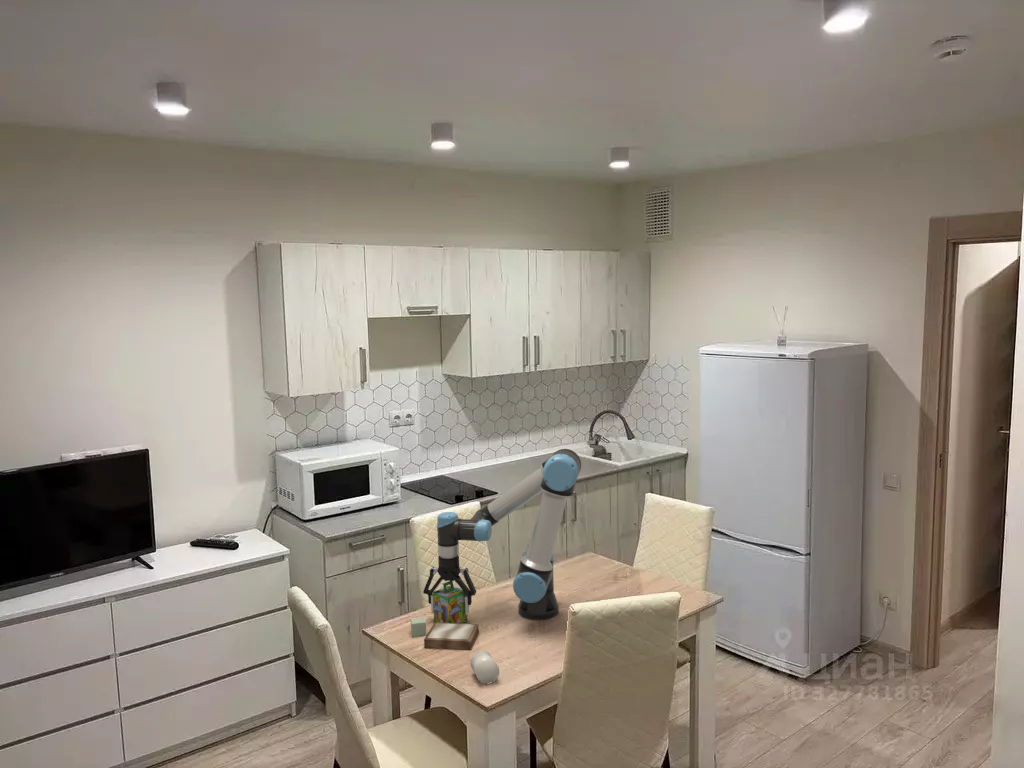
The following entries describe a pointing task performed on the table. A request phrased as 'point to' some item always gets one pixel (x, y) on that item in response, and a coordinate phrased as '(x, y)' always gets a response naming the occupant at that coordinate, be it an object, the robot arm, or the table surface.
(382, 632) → the table surface
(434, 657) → the table surface
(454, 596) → the chalk box
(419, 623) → the sage block
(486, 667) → the white rounded capsule
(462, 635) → the podium
